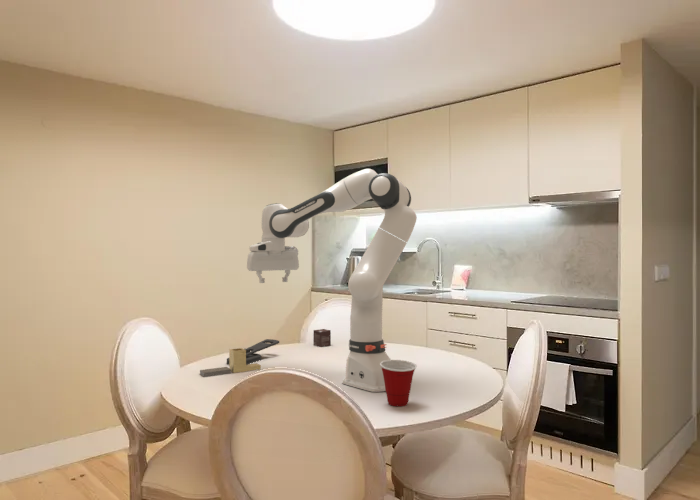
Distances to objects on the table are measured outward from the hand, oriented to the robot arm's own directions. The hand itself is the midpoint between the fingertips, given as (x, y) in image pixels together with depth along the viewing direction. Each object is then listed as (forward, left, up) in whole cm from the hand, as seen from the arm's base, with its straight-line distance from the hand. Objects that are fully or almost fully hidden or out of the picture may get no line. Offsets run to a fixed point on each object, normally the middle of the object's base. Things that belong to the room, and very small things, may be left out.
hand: (273, 282), depth 202 cm
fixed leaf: (+4, +19, -33) cm, 38 cm away
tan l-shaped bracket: (+4, +10, -33) cm, 35 cm away
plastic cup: (-62, -13, -33) cm, 72 cm away
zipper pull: (+20, +1, -33) cm, 39 cm away
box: (+32, -38, -33) cm, 60 cm away
